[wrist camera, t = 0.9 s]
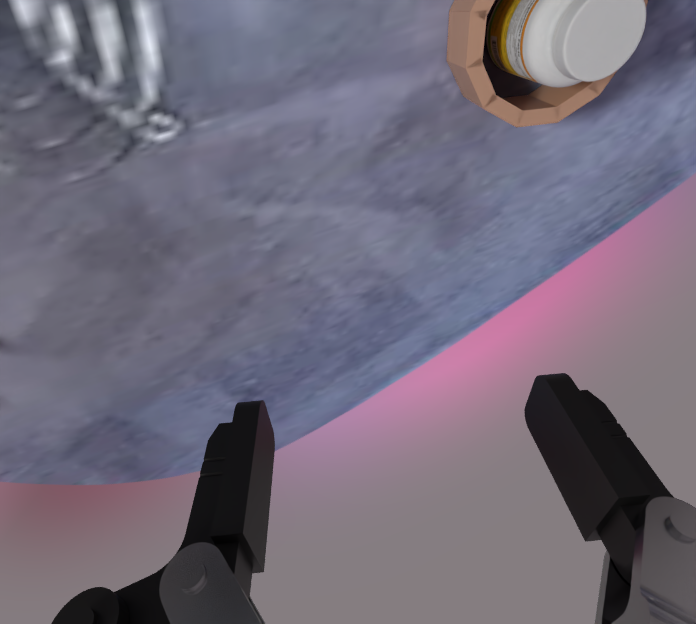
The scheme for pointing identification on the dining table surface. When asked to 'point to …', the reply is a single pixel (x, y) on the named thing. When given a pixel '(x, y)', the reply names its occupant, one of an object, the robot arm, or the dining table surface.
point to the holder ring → (476, 85)
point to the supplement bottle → (564, 38)
